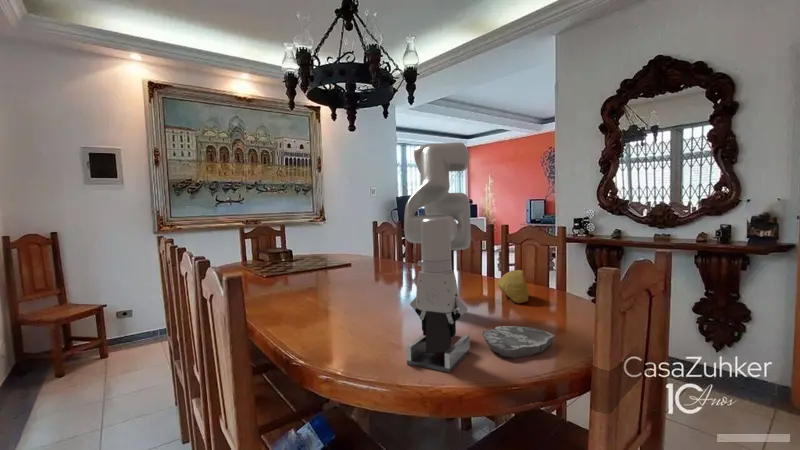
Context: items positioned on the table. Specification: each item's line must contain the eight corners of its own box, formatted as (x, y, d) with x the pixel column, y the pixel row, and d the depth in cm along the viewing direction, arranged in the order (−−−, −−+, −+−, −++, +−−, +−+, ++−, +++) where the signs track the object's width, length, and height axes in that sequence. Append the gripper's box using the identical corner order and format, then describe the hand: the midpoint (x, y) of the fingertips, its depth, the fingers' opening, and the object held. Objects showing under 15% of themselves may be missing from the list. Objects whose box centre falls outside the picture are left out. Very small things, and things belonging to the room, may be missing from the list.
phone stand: (449, 354, 96) (448, 305, 95) (425, 353, 97) (423, 305, 96) (451, 340, 105) (450, 296, 104) (429, 340, 106) (427, 296, 105)
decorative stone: (484, 294, 155) (507, 269, 147) (498, 282, 167) (519, 258, 159) (509, 318, 151) (534, 293, 143) (522, 304, 163) (545, 280, 155)
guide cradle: (407, 364, 98) (406, 346, 98) (430, 345, 110) (430, 329, 110) (449, 372, 92) (449, 354, 92) (469, 351, 105) (469, 334, 104)
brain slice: (513, 331, 120) (513, 321, 120) (564, 347, 106) (563, 336, 106) (466, 346, 109) (466, 335, 109) (515, 366, 95) (515, 354, 95)
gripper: (399, 266, 101) (402, 335, 102) (463, 270, 92) (465, 345, 94) (413, 262, 107) (415, 326, 109) (474, 265, 99) (476, 335, 100)
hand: (438, 334), depth 101 cm, fingers closed on phone stand, 6 cm apart
